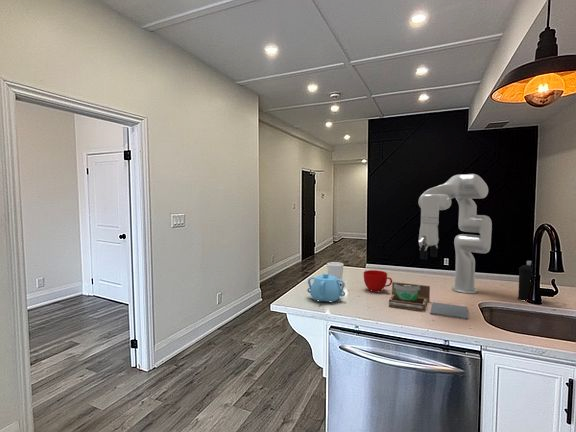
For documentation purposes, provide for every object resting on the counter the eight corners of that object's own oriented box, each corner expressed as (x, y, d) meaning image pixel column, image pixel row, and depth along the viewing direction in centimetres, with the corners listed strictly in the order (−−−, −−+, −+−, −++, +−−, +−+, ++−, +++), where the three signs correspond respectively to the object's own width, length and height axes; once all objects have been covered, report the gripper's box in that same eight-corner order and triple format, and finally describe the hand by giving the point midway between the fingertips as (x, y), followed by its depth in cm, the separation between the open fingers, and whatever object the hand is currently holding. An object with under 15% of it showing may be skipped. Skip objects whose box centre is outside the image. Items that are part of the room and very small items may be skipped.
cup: (331, 281, 202) (331, 261, 201) (346, 284, 196) (346, 263, 196) (324, 285, 194) (324, 264, 193) (338, 287, 188) (338, 266, 188)
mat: (432, 303, 159) (432, 302, 159) (467, 308, 152) (467, 306, 152) (430, 314, 145) (430, 312, 145) (468, 319, 138) (468, 318, 138)
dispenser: (392, 296, 171) (392, 281, 170) (429, 301, 162) (429, 286, 162) (386, 306, 156) (386, 290, 155) (426, 312, 147) (427, 295, 147)
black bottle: (516, 300, 163) (517, 261, 162) (518, 296, 169) (520, 258, 168) (536, 303, 158) (538, 263, 157) (538, 299, 164) (540, 260, 163)
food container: (395, 306, 155) (395, 286, 155) (393, 302, 161) (393, 283, 161) (422, 308, 153) (422, 287, 152) (419, 304, 159) (420, 284, 158)
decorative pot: (317, 306, 157) (317, 278, 156) (305, 296, 172) (305, 271, 171) (347, 302, 162) (347, 276, 161) (333, 293, 177) (333, 269, 176)
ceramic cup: (385, 296, 171) (385, 278, 170) (358, 290, 183) (358, 272, 183) (398, 291, 179) (398, 274, 179) (372, 285, 192) (372, 269, 191)
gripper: (430, 220, 157) (429, 254, 158) (412, 221, 146) (411, 259, 147) (446, 220, 151) (445, 257, 152) (428, 222, 140) (427, 261, 141)
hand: (428, 257), depth 149 cm, fingers open, 9 cm apart
